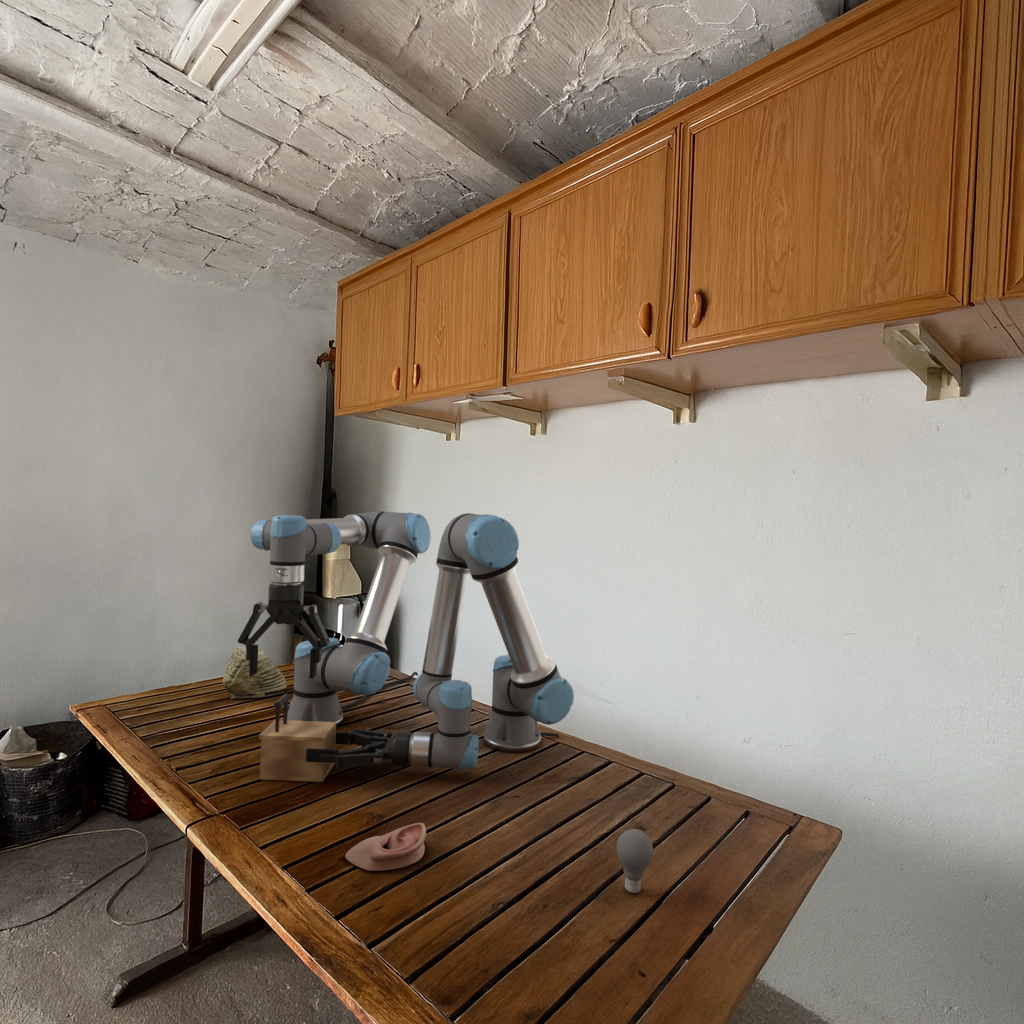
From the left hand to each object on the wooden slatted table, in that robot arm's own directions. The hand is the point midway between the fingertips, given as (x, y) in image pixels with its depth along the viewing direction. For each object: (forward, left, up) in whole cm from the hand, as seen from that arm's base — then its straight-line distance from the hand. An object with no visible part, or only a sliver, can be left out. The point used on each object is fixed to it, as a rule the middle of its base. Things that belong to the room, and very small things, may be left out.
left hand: (283, 675), depth 145 cm
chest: (-3, +3, -22) cm, 22 cm away
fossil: (-24, -54, -22) cm, 63 cm away
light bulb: (-15, +82, -22) cm, 86 cm away
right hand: (-5, +6, -16) cm, 18 cm away
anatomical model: (+6, +44, -22) cm, 50 cm away
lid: (-3, +3, -13) cm, 14 cm away
